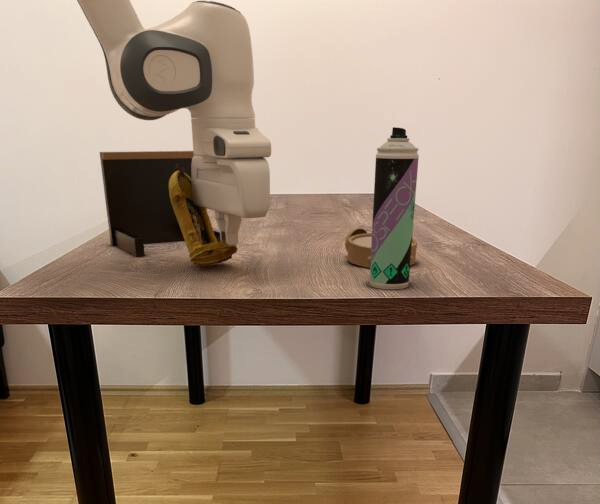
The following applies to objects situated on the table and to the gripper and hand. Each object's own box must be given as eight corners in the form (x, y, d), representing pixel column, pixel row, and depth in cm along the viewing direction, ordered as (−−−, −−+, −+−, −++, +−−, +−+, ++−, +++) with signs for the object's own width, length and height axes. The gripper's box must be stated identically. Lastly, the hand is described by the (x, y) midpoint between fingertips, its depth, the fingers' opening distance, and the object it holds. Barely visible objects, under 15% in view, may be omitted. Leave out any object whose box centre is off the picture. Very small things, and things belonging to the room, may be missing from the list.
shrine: (162, 267, 101) (151, 164, 95) (200, 260, 107) (192, 163, 101) (212, 273, 95) (203, 163, 89) (249, 265, 100) (244, 162, 94)
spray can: (362, 282, 91) (369, 127, 82) (395, 279, 93) (405, 127, 84) (382, 290, 86) (391, 127, 78) (416, 287, 88) (429, 127, 80)
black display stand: (133, 257, 108) (122, 154, 101) (110, 244, 119) (99, 151, 113) (230, 248, 116) (226, 153, 109) (200, 238, 128) (194, 150, 121)
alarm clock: (356, 250, 98) (338, 220, 110) (354, 281, 100) (336, 248, 112) (427, 249, 99) (401, 219, 111) (422, 279, 102) (398, 247, 114)
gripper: (177, 141, 96) (185, 236, 102) (233, 143, 80) (238, 256, 86) (216, 140, 99) (221, 233, 105) (277, 142, 83) (279, 251, 89)
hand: (229, 243), depth 95 cm, fingers closed
